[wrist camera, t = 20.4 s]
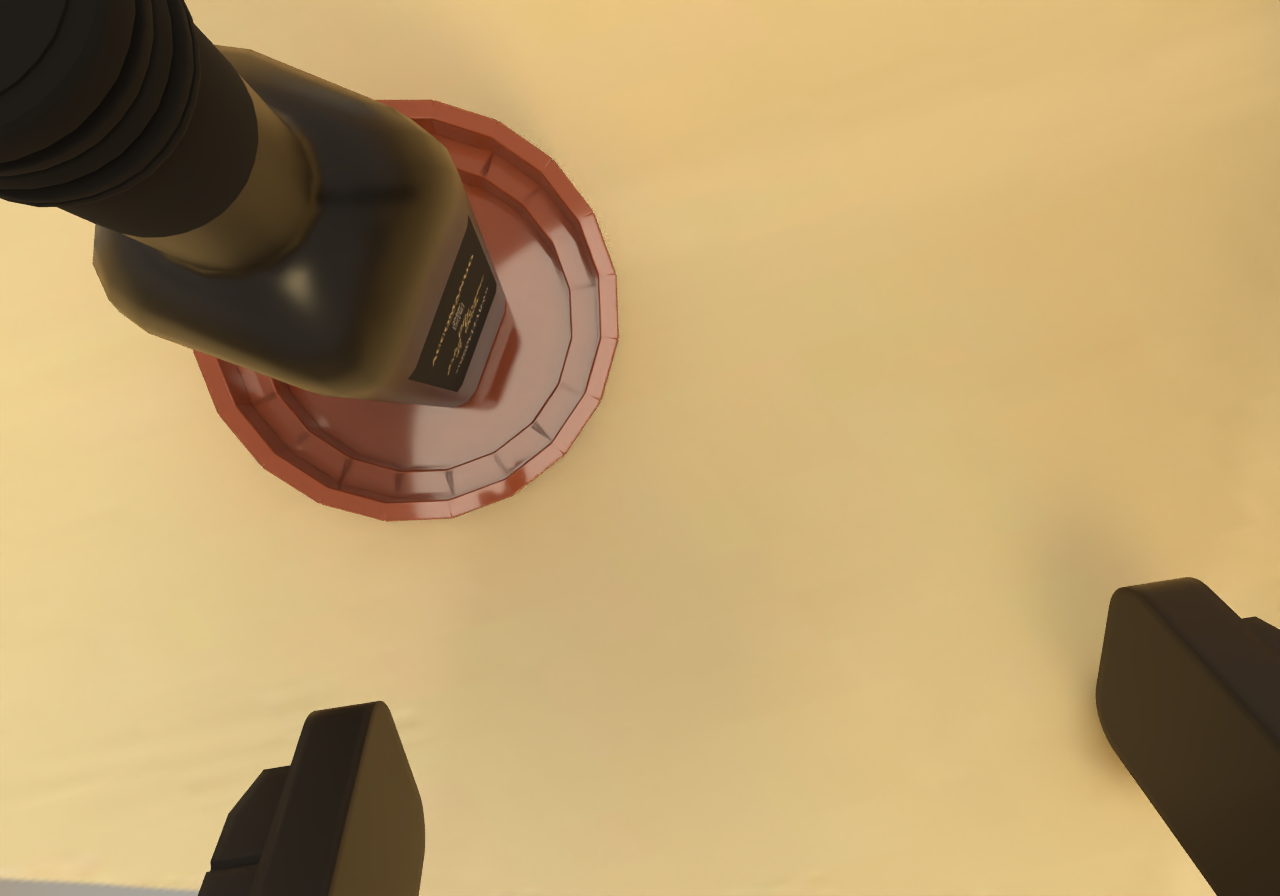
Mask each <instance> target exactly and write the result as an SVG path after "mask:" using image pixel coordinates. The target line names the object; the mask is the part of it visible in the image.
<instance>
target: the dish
mask: <svg viewBox="0 0 1280 896" xmlns="http://www.w3.org/2000/svg"><path fill="white" fill-rule="evenodd" d="M375 101H378V102H380V103H383V104H385V105H388V106H390V107H392V108H394V109H395V110H397V111H399V112H400V113H402V114H404V115H405V116H407V117H408V118H410V119H412V120H413V121H414V122H416V123H417V124H418V125H419V126H421V127H422V128H423V129H424V130H426V131H427V132H428V133H429V134H431V135H432V136H433V137H434V138H436V139H437V140H438V141H439V142H440V143H441V144H443V145H444V146H445V147H446V148H447V150H448V152H449V154H450V156H451V158H452V160H453V162H454V165H455V167H456V169H457V171H458V173H459V175H460V178H461V181H462V183H463V186H464V188H465V191H466V194H467V196H468V199H469V202H470V204H471V207H472V209H473V212H474V215H475V217H476V220H477V223H478V225H479V228H480V231H481V233H482V236H483V238H484V241H485V244H486V246H487V249H488V252H489V254H490V257H491V259H492V262H493V265H494V267H495V270H496V273H497V275H498V278H499V281H500V283H501V286H502V288H503V291H504V294H505V296H506V301H505V312H504V315H503V317H502V320H501V323H500V326H499V328H498V331H497V334H496V337H495V339H494V342H493V345H492V348H491V350H490V353H489V356H488V358H487V361H486V364H485V367H484V369H483V372H482V375H481V378H480V380H479V383H478V386H477V389H476V391H475V392H474V394H473V395H472V396H471V398H470V399H469V401H468V402H466V403H464V404H462V405H460V406H458V407H455V408H449V407H438V406H427V405H416V404H405V403H394V402H383V401H372V400H361V399H350V398H339V397H328V396H323V395H320V394H316V393H313V392H310V391H307V390H304V389H301V388H298V387H296V386H293V385H290V384H287V383H285V382H282V381H279V380H276V379H274V378H271V377H268V376H265V375H263V374H260V373H257V372H254V371H251V370H249V369H246V368H243V367H240V366H238V365H235V364H232V363H229V362H227V361H224V360H221V359H218V358H216V357H213V356H210V355H207V354H205V353H202V352H199V351H196V350H194V349H193V351H194V355H195V357H196V360H197V362H198V365H199V367H200V370H201V372H202V375H203V377H204V380H205V382H206V385H207V387H208V390H209V393H210V395H211V398H212V400H213V403H214V405H215V408H216V410H217V413H218V414H220V417H221V418H222V420H223V421H224V422H225V423H226V424H227V426H228V427H229V428H230V429H231V430H232V432H233V433H234V434H235V435H236V436H237V438H238V439H239V440H240V441H241V442H242V444H243V445H244V446H245V447H246V448H247V450H248V451H249V452H250V453H251V454H252V456H253V457H254V458H255V459H256V460H257V462H258V463H259V464H260V465H261V466H262V467H263V468H264V469H265V470H267V471H269V472H270V473H272V474H273V475H275V476H276V477H278V478H280V479H281V480H283V481H284V482H286V483H287V484H289V485H291V486H292V487H294V488H295V489H297V490H298V491H300V492H302V493H303V494H305V495H306V496H308V497H310V498H311V499H313V500H314V501H316V502H317V503H321V504H322V505H326V506H330V507H333V508H337V509H341V510H345V511H348V512H352V513H356V514H360V515H363V516H367V517H371V518H375V519H379V520H382V521H405V520H426V519H447V518H454V517H457V516H460V515H462V514H465V513H468V512H470V511H473V510H476V509H478V508H481V507H484V506H486V505H489V504H492V503H495V502H497V501H500V500H503V499H505V498H508V497H511V496H513V495H514V494H516V493H517V492H519V491H520V490H521V489H523V488H524V487H525V486H526V485H528V484H529V483H530V482H531V481H533V480H534V479H535V478H537V477H538V476H539V475H540V474H542V473H543V472H544V471H545V470H547V469H548V468H549V467H550V466H552V465H553V464H554V463H556V462H557V461H558V460H559V459H561V458H562V457H563V456H564V454H566V453H567V452H568V450H569V449H570V447H571V446H572V444H573V443H574V441H575V440H576V438H577V437H578V435H579V434H580V432H581V431H582V429H583V428H584V426H585V425H586V423H587V422H588V420H589V419H590V417H591V416H592V414H593V413H594V411H595V410H596V408H597V407H598V405H599V404H600V402H601V401H600V400H601V399H602V396H603V393H604V389H605V386H606V382H607V379H608V375H609V372H610V368H611V365H612V361H613V357H614V354H615V350H616V347H617V343H618V338H619V332H618V305H617V279H616V274H615V269H614V266H613V264H612V261H611V258H610V255H609V253H608V250H607V247H606V244H605V241H604V239H603V236H602V233H601V230H600V228H599V225H598V222H597V219H596V217H595V214H594V213H593V210H592V209H591V208H590V206H589V205H588V204H587V202H586V201H585V200H584V199H583V197H582V196H581V195H580V193H579V192H578V191H577V189H576V188H575V187H574V186H573V184H572V183H571V182H570V180H569V179H568V178H567V176H566V175H565V174H564V172H563V171H562V170H561V169H560V167H559V166H558V165H557V163H556V162H555V161H554V160H552V158H551V157H549V156H548V155H547V154H545V153H544V152H542V151H541V150H539V149H538V148H537V147H535V146H534V145H532V144H531V143H530V142H528V141H527V140H525V139H524V138H522V137H521V136H520V135H518V134H517V133H515V132H514V131H512V130H511V129H510V128H508V127H507V126H505V125H504V124H502V123H501V122H499V121H498V122H497V120H495V119H492V118H489V117H486V116H482V115H479V114H476V113H473V112H470V111H467V110H463V109H460V108H457V107H454V106H451V105H448V104H444V103H441V102H438V101H433V100H375Z"/></svg>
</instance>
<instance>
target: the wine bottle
mask: <svg viewBox="0 0 1280 896" xmlns="http://www.w3.org/2000/svg"><path fill="white" fill-rule="evenodd" d="M0 198H1V199H4V200H7V201H10V202H15V203H20V204H26V205H31V206H36V207H58V208H60V209H63V210H65V211H67V212H69V213H72V214H74V215H76V216H79V217H81V218H83V219H86V220H88V221H90V222H92V223H95V224H96V227H95V238H94V252H93V266H94V268H95V270H96V272H97V275H98V277H99V279H100V281H101V284H102V286H103V288H104V290H105V293H106V295H107V297H108V299H109V301H110V302H111V303H112V304H113V305H114V306H115V307H116V309H117V310H118V311H119V312H120V313H122V314H123V315H124V316H126V317H127V318H128V319H130V320H131V321H133V322H134V323H135V324H137V325H138V326H139V327H141V328H142V329H143V330H145V331H146V332H147V333H149V334H152V335H155V336H158V337H160V338H163V339H166V340H169V341H171V342H174V343H177V344H180V345H182V346H185V347H188V348H191V349H194V350H196V351H199V352H202V353H205V354H207V355H210V356H213V357H216V358H218V359H221V360H224V361H227V362H229V363H232V364H235V365H238V366H240V367H243V368H246V369H249V370H251V371H254V372H257V373H260V374H263V375H265V376H268V377H271V378H274V379H276V380H279V381H282V382H285V383H287V384H290V385H293V386H296V387H298V388H301V389H304V390H307V391H310V392H313V393H316V394H320V395H323V396H328V397H339V398H350V399H361V400H372V401H383V402H394V403H405V404H416V405H427V406H438V407H449V408H455V407H458V406H460V405H462V404H464V403H466V402H468V401H469V399H470V398H471V396H472V395H473V394H474V392H475V391H476V389H477V386H478V383H479V380H480V378H481V375H482V372H483V369H484V367H485V364H486V361H487V358H488V356H489V353H490V350H491V348H492V345H493V342H494V339H495V337H496V334H497V331H498V328H499V326H500V323H501V320H502V317H503V315H504V312H505V301H506V296H505V294H504V291H503V288H502V286H501V283H500V281H499V278H498V275H497V273H496V270H495V267H494V265H493V262H492V259H491V257H490V254H489V252H488V249H487V246H486V244H485V241H484V238H483V236H482V233H481V231H480V228H479V225H478V223H477V220H476V217H475V215H474V212H473V209H472V207H471V204H470V202H469V199H468V196H467V194H466V191H465V188H464V186H463V183H462V181H461V178H460V175H459V173H458V171H457V169H456V167H455V165H454V162H453V160H452V158H451V156H450V154H449V152H448V150H447V148H446V147H445V146H444V145H443V144H441V143H440V142H439V141H438V140H437V139H436V138H434V137H433V136H432V135H431V134H429V133H428V132H427V131H426V130H424V129H423V128H422V127H421V126H419V125H418V124H417V123H416V122H414V121H413V120H412V119H410V118H408V117H407V116H405V115H404V114H402V113H400V112H399V111H397V110H395V109H394V108H392V107H390V106H388V105H385V104H383V103H380V102H378V101H375V100H373V99H370V98H368V97H365V96H363V95H361V94H358V93H356V92H353V91H351V90H348V89H346V88H343V87H341V86H338V85H336V84H334V83H331V82H329V81H326V80H324V79H321V78H319V77H316V76H314V75H311V74H309V73H307V72H304V71H302V70H299V69H297V68H294V67H292V66H289V65H287V64H284V63H282V62H280V61H277V60H275V59H272V58H270V57H267V56H265V55H262V54H260V53H257V52H255V51H253V50H250V49H242V48H235V47H227V46H219V45H213V44H212V42H211V41H210V40H209V39H208V38H207V37H206V36H205V35H204V34H203V33H202V32H201V31H200V30H199V28H198V27H197V26H196V25H195V24H194V23H193V19H192V16H191V14H190V12H189V10H188V8H187V6H186V4H185V2H184V0H0Z"/></svg>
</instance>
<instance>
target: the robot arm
mask: <svg viewBox="0 0 1280 896" xmlns="http://www.w3.org/2000/svg"><path fill="white" fill-rule="evenodd" d="M1096 705H1097V711H1098V715H1099V719H1100V723H1101V725H1102V728H1103V731H1104V733H1105V735H1106V738H1107V739H1108V741H1109V743H1110V745H1111V747H1112V748H1113V750H1114V751H1115V753H1116V754H1117V755H1118V757H1119V758H1120V760H1121V761H1122V762H1123V764H1124V765H1125V767H1126V768H1127V770H1128V771H1129V772H1130V774H1131V775H1132V777H1133V778H1134V779H1135V781H1136V782H1137V784H1138V785H1139V786H1140V788H1141V789H1142V791H1143V792H1144V793H1145V795H1146V796H1147V798H1148V799H1149V800H1150V802H1151V803H1152V805H1153V806H1154V808H1155V809H1156V810H1157V812H1158V813H1159V815H1160V816H1161V817H1162V819H1163V820H1164V822H1165V823H1166V824H1167V826H1168V827H1169V829H1170V830H1171V831H1172V833H1173V834H1174V836H1175V837H1176V838H1177V840H1178V841H1179V843H1180V844H1181V846H1182V847H1183V848H1184V850H1185V851H1186V853H1187V854H1188V855H1189V857H1190V858H1191V860H1192V861H1193V862H1194V864H1195V865H1196V867H1197V868H1198V869H1199V871H1200V872H1201V874H1202V875H1203V876H1204V878H1205V879H1206V881H1207V882H1208V884H1209V885H1210V886H1211V888H1212V889H1213V891H1214V892H1215V893H1216V895H1217V896H1280V629H1278V628H1276V627H1274V626H1272V625H1270V624H1268V623H1267V622H1265V621H1263V620H1261V619H1259V618H1257V617H1249V618H1243V619H1241V618H1240V617H1239V616H1238V615H1237V614H1236V613H1235V612H1234V611H1233V610H1232V609H1231V608H1230V607H1229V606H1228V605H1227V604H1226V603H1225V602H1223V601H1222V600H1221V599H1220V598H1219V597H1218V596H1217V595H1216V594H1215V593H1214V592H1213V591H1212V590H1211V589H1210V588H1209V587H1208V586H1206V585H1205V584H1204V583H1203V582H1201V581H1199V580H1198V579H1195V578H1191V577H1185V578H1179V579H1172V580H1166V581H1160V582H1153V583H1147V584H1140V585H1134V586H1128V587H1122V588H1119V589H1117V590H1116V591H1115V592H1114V594H1113V595H1112V598H1111V601H1110V605H1109V611H1108V617H1107V623H1106V629H1105V636H1104V642H1103V648H1102V654H1101V660H1100V667H1099V673H1098V679H1097V685H1096ZM424 852H425V823H424V813H423V807H422V802H421V797H420V794H419V791H418V788H417V785H416V782H415V780H414V777H413V774H412V771H411V768H410V766H409V763H408V760H407V757H406V754H405V751H404V749H403V746H402V743H401V740H400V737H399V735H398V732H397V729H396V726H395V723H394V721H393V718H392V715H391V712H390V710H389V708H388V706H387V705H386V704H385V703H384V702H383V701H376V702H370V703H363V704H357V705H351V706H344V707H338V708H331V709H325V710H319V711H314V712H312V713H310V714H309V716H308V717H307V719H306V721H305V723H304V726H303V729H302V732H301V735H300V738H299V741H298V744H297V747H296V750H295V754H294V757H293V760H292V763H291V766H284V767H278V768H272V769H265V770H263V771H262V773H261V774H260V775H259V776H258V778H257V779H256V780H255V781H254V783H253V784H252V785H251V786H250V788H249V789H248V790H247V791H246V793H245V794H244V795H243V796H242V798H241V799H240V800H239V801H238V803H237V804H236V805H235V806H234V808H233V809H232V810H231V811H230V813H229V814H228V817H227V819H226V822H225V825H224V827H223V830H222V833H221V835H220V838H219V841H218V843H217V846H216V848H215V851H214V854H213V856H212V859H211V862H210V863H211V870H210V872H206V875H205V878H204V880H203V883H202V886H201V888H200V891H199V894H198V896H419V889H420V882H421V875H422V868H423V860H424Z"/></svg>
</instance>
